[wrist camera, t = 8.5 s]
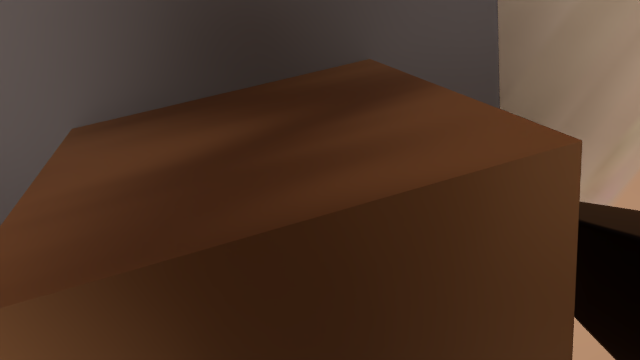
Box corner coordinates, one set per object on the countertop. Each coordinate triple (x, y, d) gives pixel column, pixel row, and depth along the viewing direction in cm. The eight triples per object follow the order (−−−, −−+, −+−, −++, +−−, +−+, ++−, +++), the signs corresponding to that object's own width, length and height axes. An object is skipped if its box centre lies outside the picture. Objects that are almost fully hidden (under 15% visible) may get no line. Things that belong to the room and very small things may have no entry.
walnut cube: (370, 59, 10) (582, 140, 5) (400, 290, 13) (564, 515, 7) (71, 128, 9) (-76, 330, 4) (167, 366, 12) (158, 693, 6)
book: (400, -189, 12) (492, -260, 9) (442, 314, 19) (505, 392, 15) (-131, -117, 10) (-297, -170, 7) (122, 421, 17) (107, 541, 13)
